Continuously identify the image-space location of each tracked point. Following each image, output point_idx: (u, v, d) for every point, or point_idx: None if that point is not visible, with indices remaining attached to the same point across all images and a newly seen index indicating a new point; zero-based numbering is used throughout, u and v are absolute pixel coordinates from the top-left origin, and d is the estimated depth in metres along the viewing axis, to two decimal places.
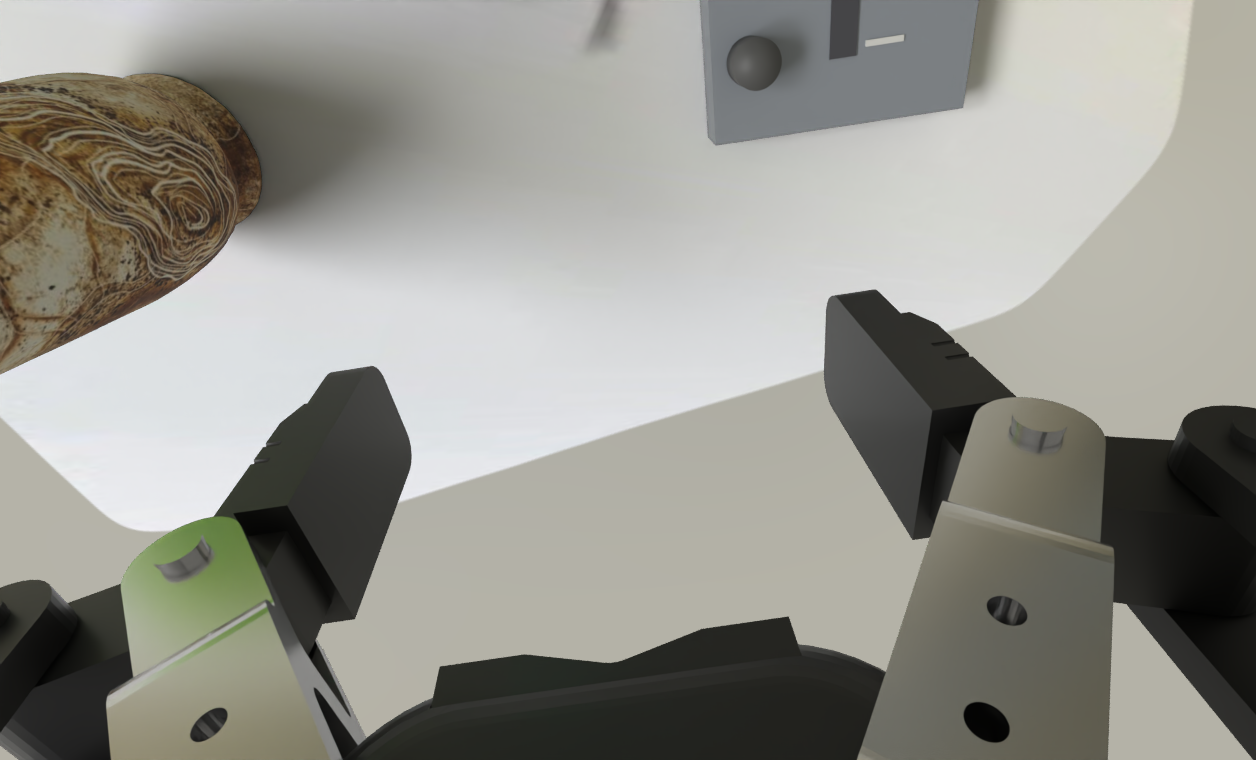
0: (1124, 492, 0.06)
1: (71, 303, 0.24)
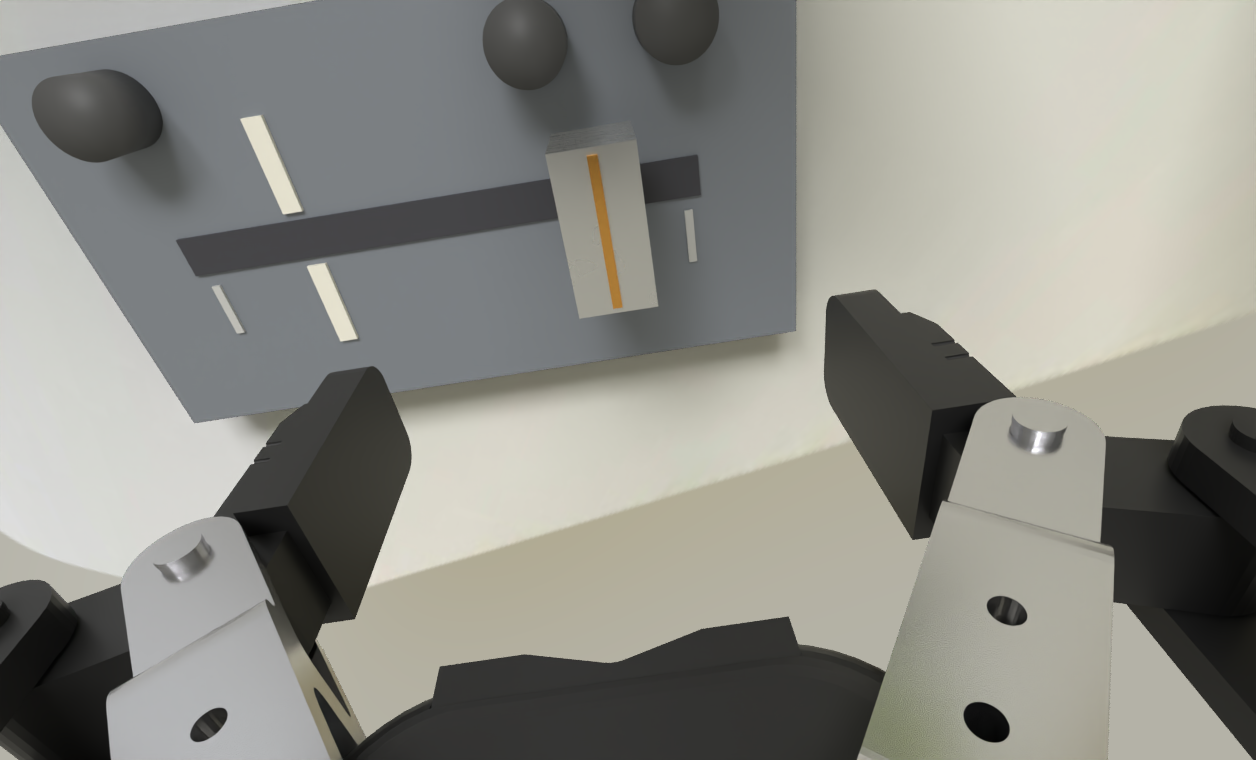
0: (1124, 492, 0.06)
1: None
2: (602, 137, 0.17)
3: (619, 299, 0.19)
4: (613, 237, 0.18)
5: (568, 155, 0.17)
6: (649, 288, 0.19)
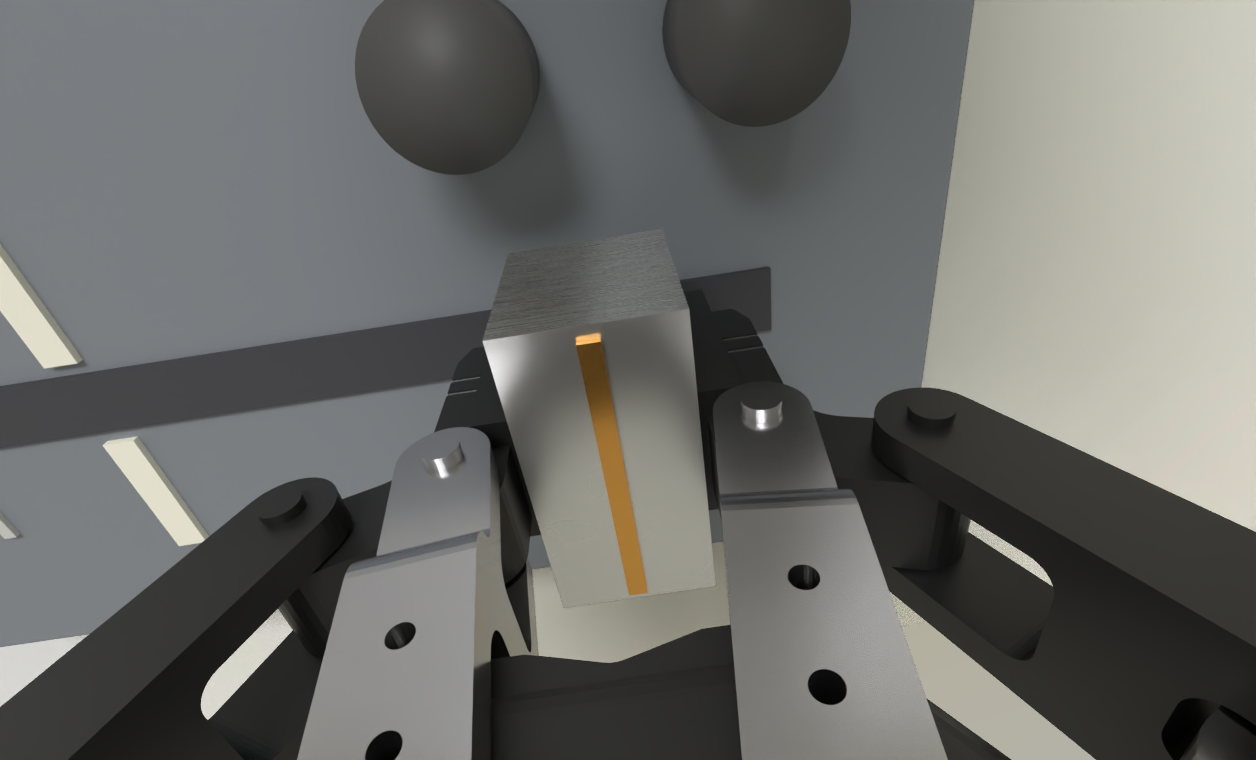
0: None
1: None
2: (610, 285, 0.08)
3: (641, 577, 0.10)
4: (632, 483, 0.09)
5: (536, 342, 0.07)
6: (700, 561, 0.10)
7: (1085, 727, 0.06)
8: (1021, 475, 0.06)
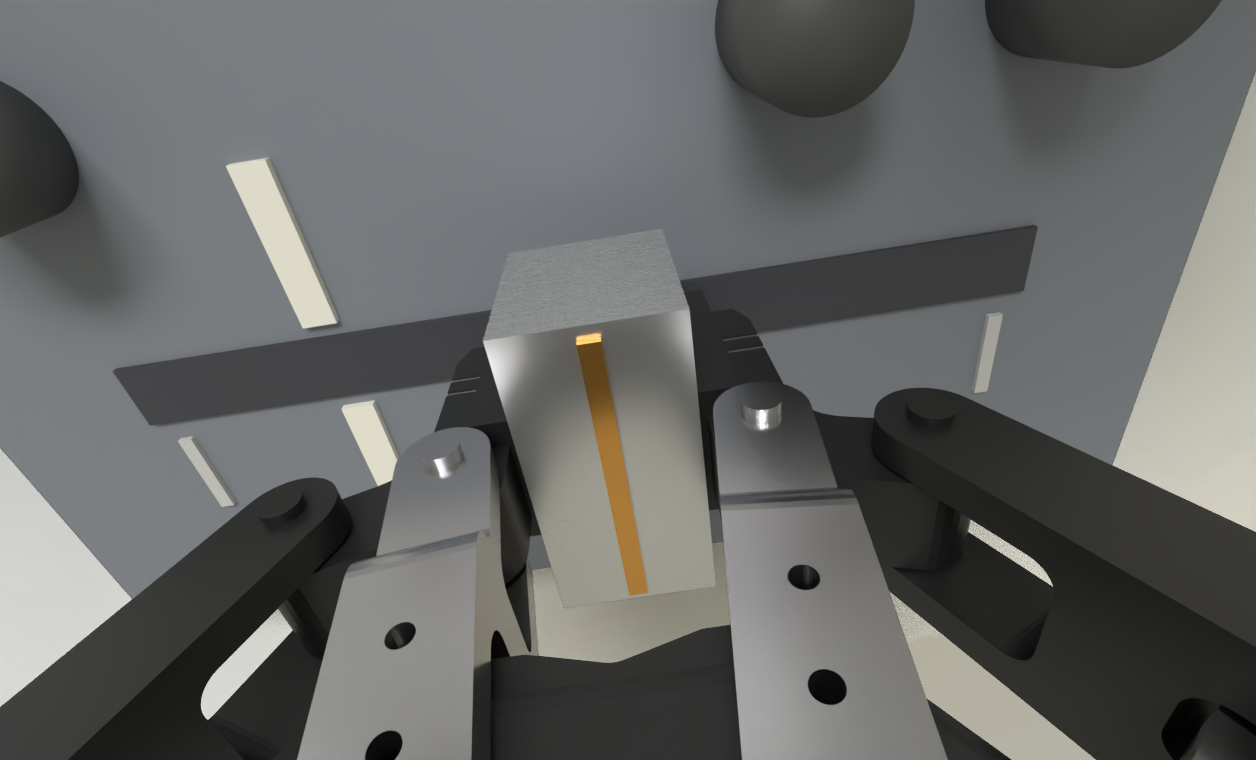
0: None
1: None
2: (610, 284, 0.08)
3: (641, 577, 0.10)
4: (632, 483, 0.09)
5: (536, 342, 0.07)
6: (700, 560, 0.10)
7: (1085, 727, 0.06)
8: (1021, 475, 0.06)
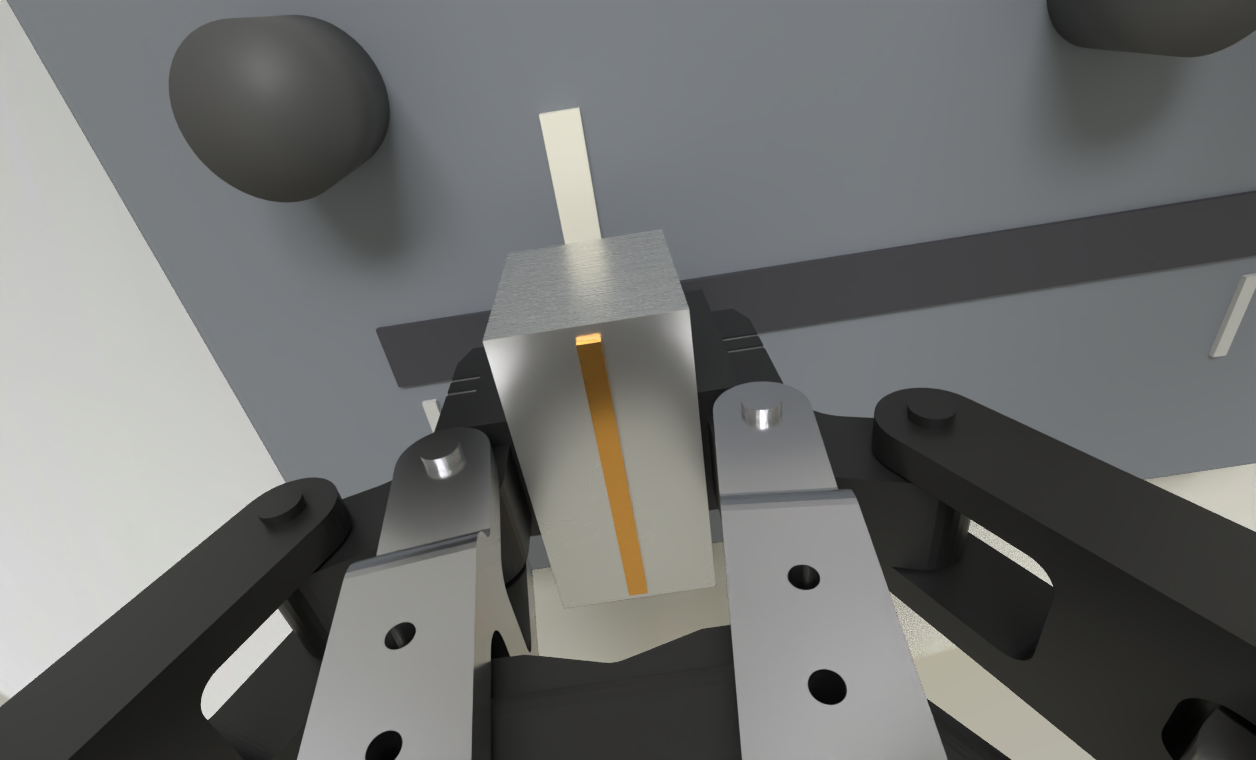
0: None
1: None
2: (610, 285, 0.08)
3: (641, 578, 0.10)
4: (632, 483, 0.09)
5: (536, 342, 0.07)
6: (700, 560, 0.10)
7: (1085, 727, 0.06)
8: (1021, 475, 0.06)
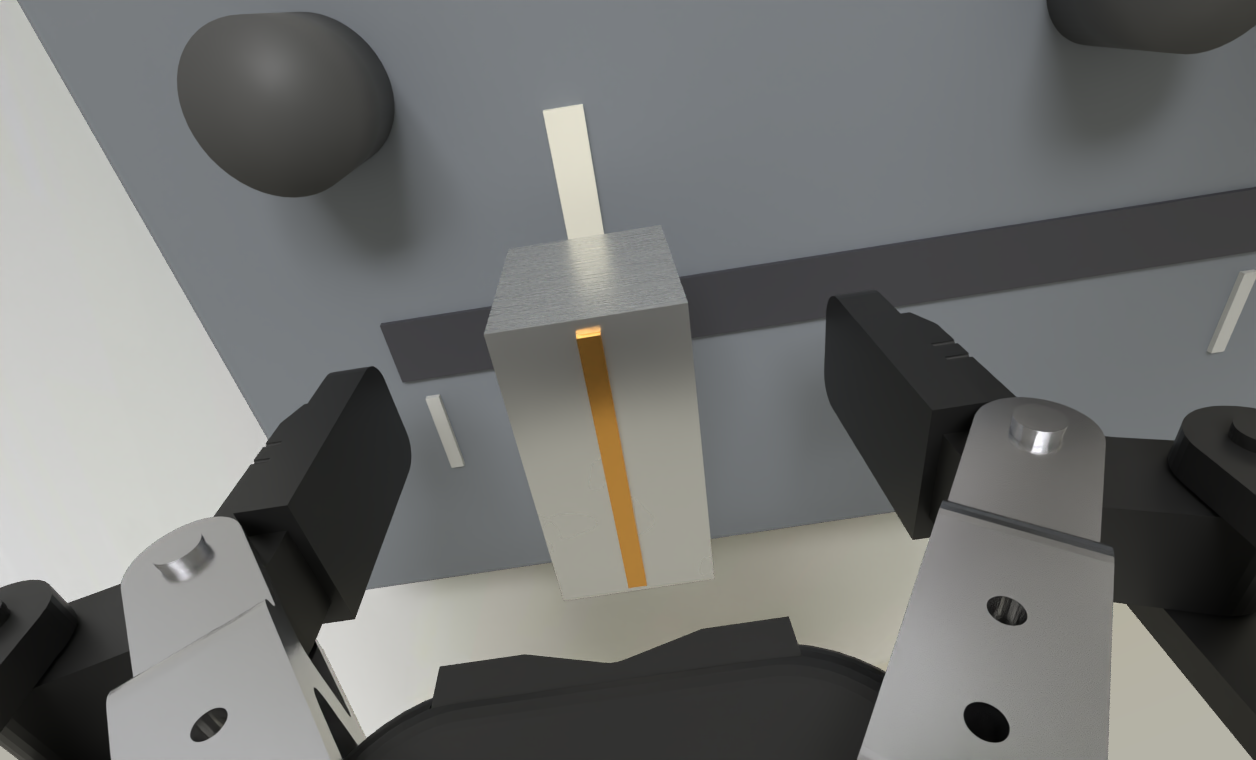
0: (1124, 492, 0.06)
1: None
2: (610, 279, 0.08)
3: (640, 570, 0.10)
4: (631, 477, 0.09)
5: (536, 335, 0.07)
6: (699, 553, 0.10)
7: None
8: None
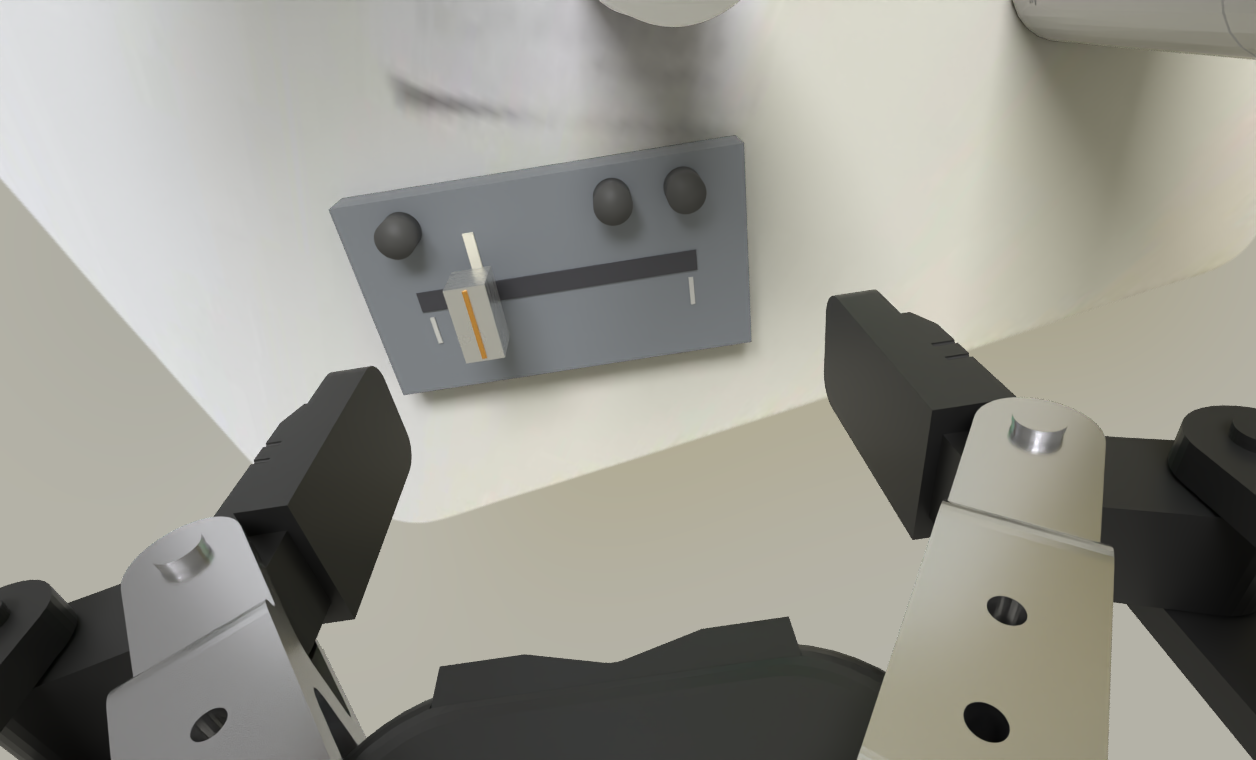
0: (1124, 492, 0.06)
1: None
2: (472, 280, 0.37)
3: (485, 354, 0.39)
4: (478, 326, 0.37)
5: (453, 291, 0.36)
6: (499, 349, 0.38)
7: None
8: None
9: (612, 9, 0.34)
